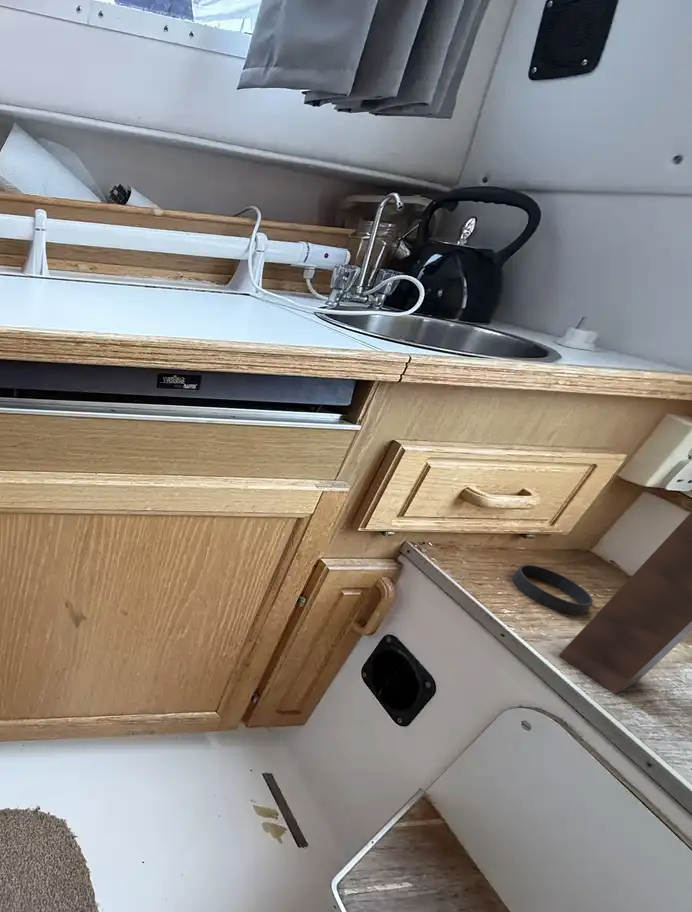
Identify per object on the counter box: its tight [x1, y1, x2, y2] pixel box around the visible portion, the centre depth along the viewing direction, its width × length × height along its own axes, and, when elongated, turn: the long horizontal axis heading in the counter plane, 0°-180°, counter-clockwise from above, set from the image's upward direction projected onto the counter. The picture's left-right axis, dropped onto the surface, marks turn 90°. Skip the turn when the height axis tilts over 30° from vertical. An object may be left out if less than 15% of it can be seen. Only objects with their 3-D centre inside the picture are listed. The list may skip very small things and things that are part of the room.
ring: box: [511, 564, 594, 616], centre depth 86 cm, size 9×9×2 cm
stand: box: [558, 511, 692, 695], centre depth 64 cm, size 6×6×32 cm
